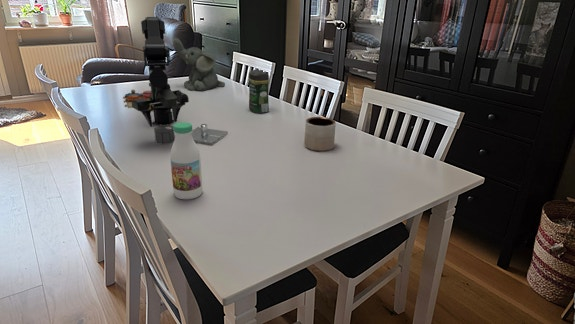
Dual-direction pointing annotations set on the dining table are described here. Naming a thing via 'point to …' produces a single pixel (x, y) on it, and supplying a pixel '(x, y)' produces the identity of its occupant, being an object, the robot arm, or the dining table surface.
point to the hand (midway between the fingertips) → (163, 124)
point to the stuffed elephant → (198, 67)
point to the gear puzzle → (136, 97)
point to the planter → (319, 133)
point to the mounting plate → (207, 135)
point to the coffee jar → (258, 91)
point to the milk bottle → (185, 163)
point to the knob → (164, 134)
